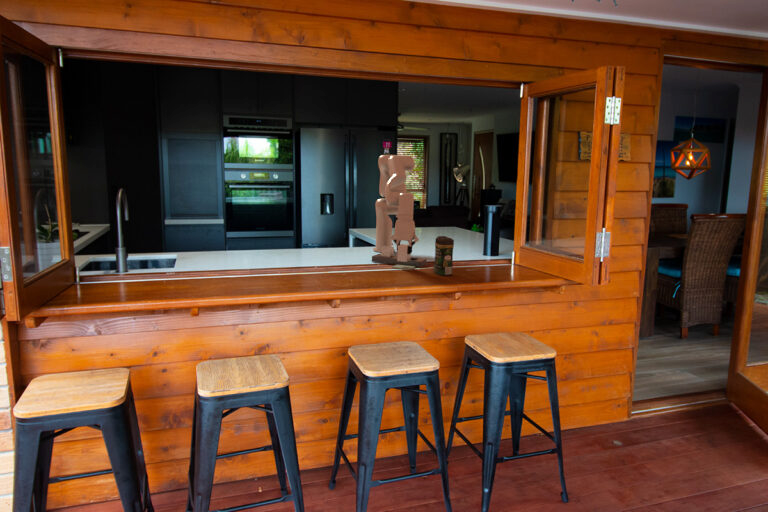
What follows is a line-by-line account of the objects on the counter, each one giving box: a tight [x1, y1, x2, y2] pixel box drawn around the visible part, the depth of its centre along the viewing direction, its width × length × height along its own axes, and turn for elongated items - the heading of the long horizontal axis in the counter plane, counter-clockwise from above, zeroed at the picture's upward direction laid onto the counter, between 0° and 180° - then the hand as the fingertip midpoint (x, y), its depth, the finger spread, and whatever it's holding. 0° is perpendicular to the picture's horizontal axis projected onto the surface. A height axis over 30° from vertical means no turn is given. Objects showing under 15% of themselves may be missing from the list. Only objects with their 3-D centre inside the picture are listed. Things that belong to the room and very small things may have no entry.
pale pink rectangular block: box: [396, 243, 412, 262], centre depth 266 cm, size 5×5×8 cm
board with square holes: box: [371, 253, 428, 268], centre depth 279 cm, size 9×28×3 cm, turn 66°
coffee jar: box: [433, 235, 455, 277], centre depth 254 cm, size 10×8×19 cm
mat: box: [391, 264, 416, 271], centre depth 267 cm, size 7×10×1 cm
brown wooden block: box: [380, 246, 395, 258], centre depth 282 cm, size 5×5×8 cm
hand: (404, 252), depth 266 cm, fingers closed on pale pink rectangular block, 5 cm apart
